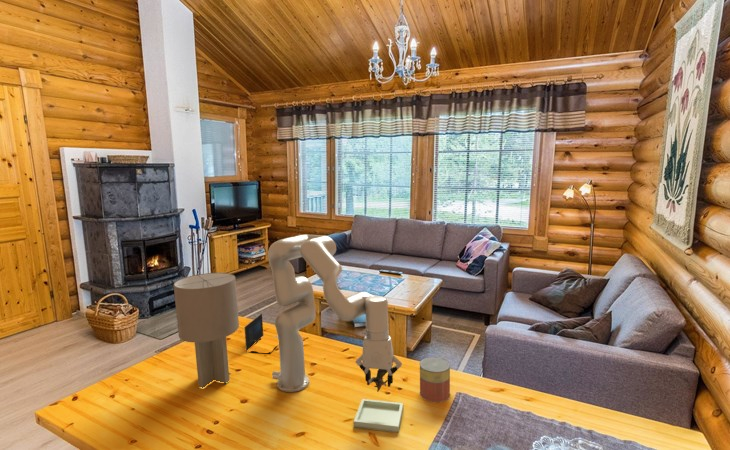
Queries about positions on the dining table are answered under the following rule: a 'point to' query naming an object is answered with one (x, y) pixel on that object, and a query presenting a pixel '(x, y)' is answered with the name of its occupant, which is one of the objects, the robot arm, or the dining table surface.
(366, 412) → the tray
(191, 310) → the lamp
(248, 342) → the laptop
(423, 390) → the canned food
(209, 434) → the dining table surface
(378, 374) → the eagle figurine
